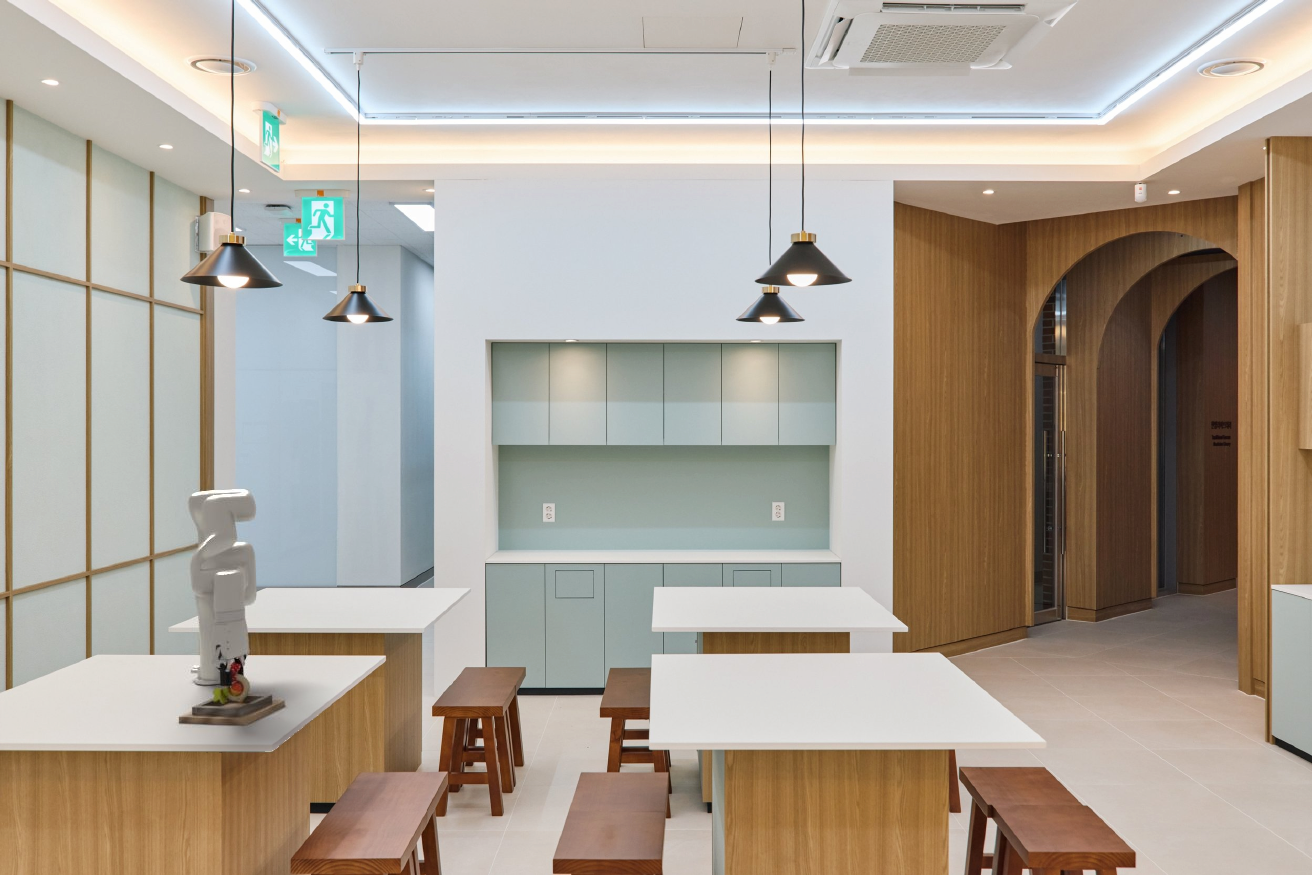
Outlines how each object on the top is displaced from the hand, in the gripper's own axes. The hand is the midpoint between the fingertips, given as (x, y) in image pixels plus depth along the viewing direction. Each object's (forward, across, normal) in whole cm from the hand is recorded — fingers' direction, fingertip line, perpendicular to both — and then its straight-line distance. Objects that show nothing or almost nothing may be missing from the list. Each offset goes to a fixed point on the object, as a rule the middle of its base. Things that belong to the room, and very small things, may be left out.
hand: (232, 682), depth 246 cm
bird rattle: (+6, 0, 0) cm, 6 cm away
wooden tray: (+9, 0, 0) cm, 9 cm away
